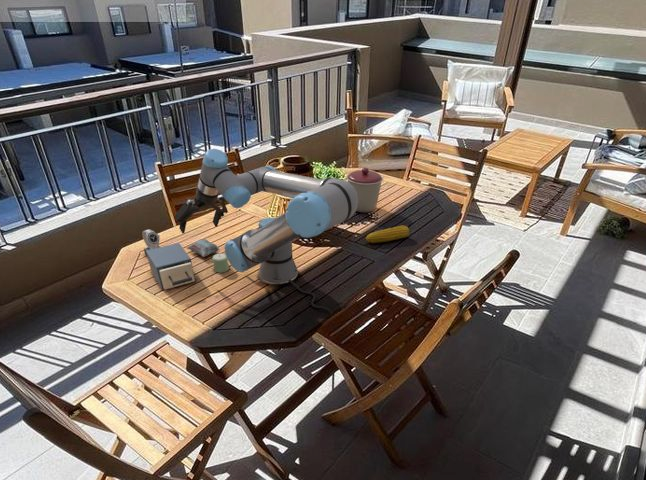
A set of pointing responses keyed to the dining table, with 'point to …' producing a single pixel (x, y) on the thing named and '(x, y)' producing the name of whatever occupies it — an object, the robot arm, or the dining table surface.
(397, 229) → the food
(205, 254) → the packaged food
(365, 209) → the canister
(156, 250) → the cabinet
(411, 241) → the dining table surface
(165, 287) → the drawer
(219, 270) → the votive
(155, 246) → the watch
